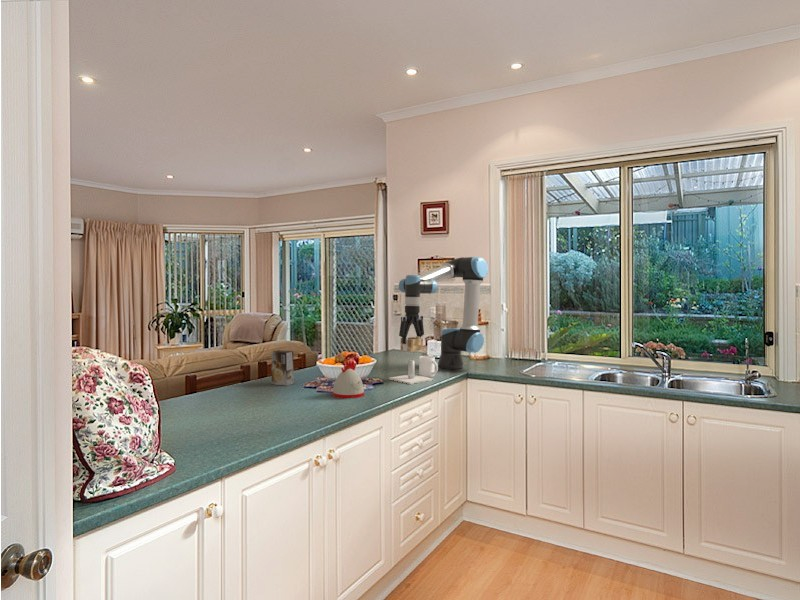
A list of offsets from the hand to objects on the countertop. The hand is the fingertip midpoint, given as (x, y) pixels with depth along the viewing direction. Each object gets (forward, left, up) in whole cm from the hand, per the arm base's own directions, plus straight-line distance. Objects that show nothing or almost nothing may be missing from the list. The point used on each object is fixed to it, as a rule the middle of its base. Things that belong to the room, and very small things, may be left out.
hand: (411, 349), depth 267 cm
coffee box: (+56, -32, -16) cm, 66 cm away
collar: (0, 0, 0) cm, 0 cm away
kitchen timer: (+45, +7, -16) cm, 48 cm away
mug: (-14, -1, -16) cm, 21 cm away
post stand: (0, 0, -16) cm, 16 cm away
